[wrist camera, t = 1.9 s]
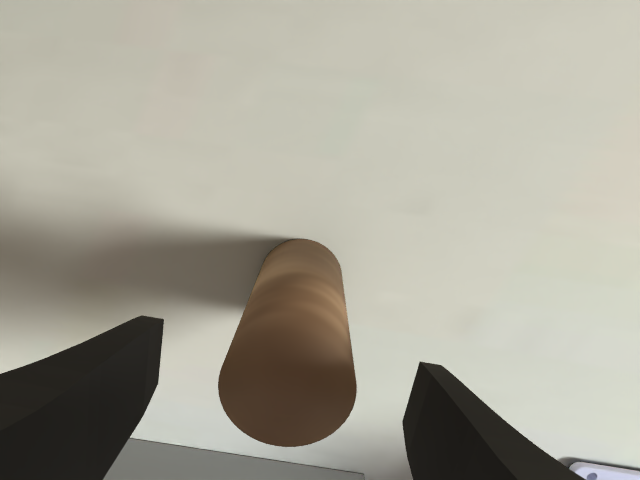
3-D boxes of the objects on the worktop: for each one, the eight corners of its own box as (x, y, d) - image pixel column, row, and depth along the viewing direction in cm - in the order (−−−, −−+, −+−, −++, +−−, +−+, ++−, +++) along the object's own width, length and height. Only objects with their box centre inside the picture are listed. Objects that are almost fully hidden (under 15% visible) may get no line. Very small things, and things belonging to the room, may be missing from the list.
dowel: (349, 247, 18) (370, 340, 11) (333, 320, 19) (341, 456, 12) (267, 232, 18) (227, 316, 10) (255, 307, 19) (210, 435, 11)
